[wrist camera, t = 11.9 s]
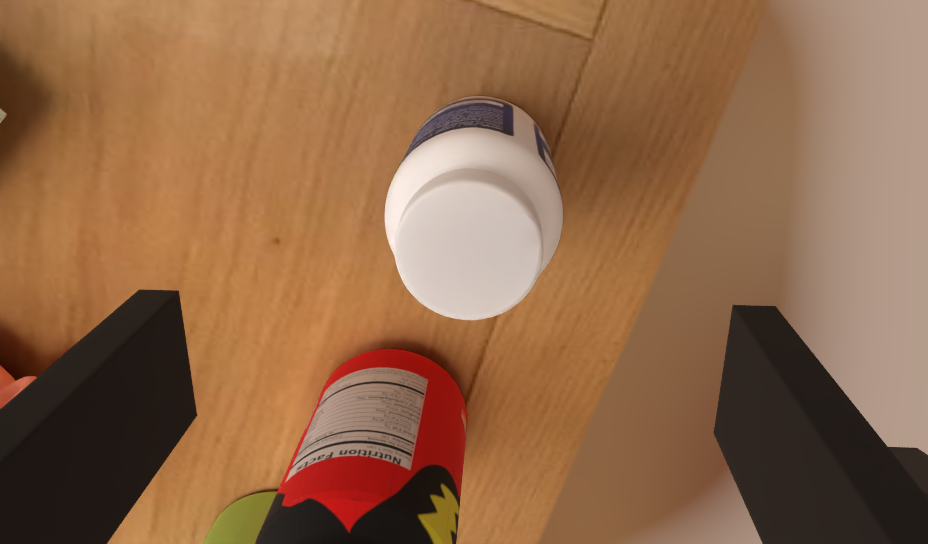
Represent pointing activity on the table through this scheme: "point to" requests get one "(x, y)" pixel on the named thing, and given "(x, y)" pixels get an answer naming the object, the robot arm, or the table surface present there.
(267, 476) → the table surface
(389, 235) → the pill bottle
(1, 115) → the pale green cover
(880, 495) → the robot arm
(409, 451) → the beverage can
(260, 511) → the tumbler
